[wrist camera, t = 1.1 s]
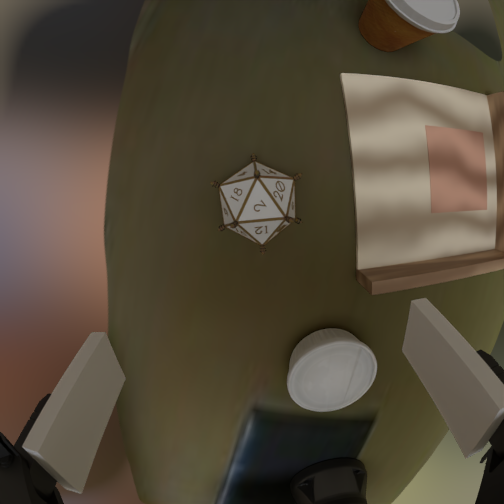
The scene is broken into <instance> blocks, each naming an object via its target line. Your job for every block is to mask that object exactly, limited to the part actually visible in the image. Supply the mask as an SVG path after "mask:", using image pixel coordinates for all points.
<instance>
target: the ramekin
mask: <svg viewBox="0 0 504 504" xmlns="http://www.w3.org/2000/svg"><path fill="white" fill-rule="evenodd" d="M376 372H377V361H376V358H375V355H374V354H373V352H372V350H371V349H370V348H369V347H368V346H367V345H366V344H364V343H363V342H361V341H359V340H358V339H357V338H356V337H355V336H354V335H353V334H351V333H350V332H347V331H345V330H342V329H337V328H329V329H322V330H319V331H316V332H314V333H311V334H310V335H308V336H306V337H305V338H303V339H302V340H301V341H300V342H299V343H298V344H297V346H296V347H295V349H294V350H293V353H292V355H291V358H290V362H289V372H288V375H287V387H288V391H289V394H290V396H291V398H292V399H293V400H294V401H295V402H296V403H297V404H298V405H299V406H301V407H303V408H305V409H308V410H312V411H318V412H326V411H334V410H338V409H341V408H344V407H346V406H348V405H350V404H352V403H354V402H355V401H356V400H358V399H359V398H360V397H362V396H363V395H364V394H365V393H366V391H367V390H368V389H369V388H370V386H371V385H372V383H373V381H374V379H375V376H376Z"/></svg>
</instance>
